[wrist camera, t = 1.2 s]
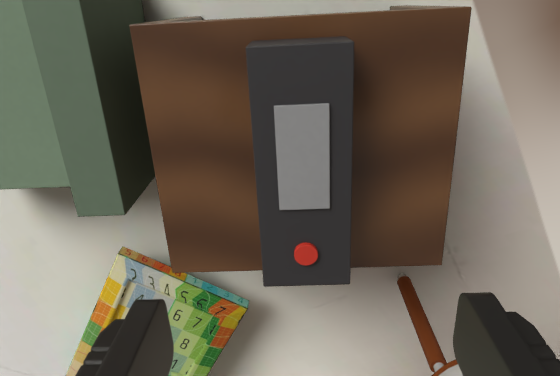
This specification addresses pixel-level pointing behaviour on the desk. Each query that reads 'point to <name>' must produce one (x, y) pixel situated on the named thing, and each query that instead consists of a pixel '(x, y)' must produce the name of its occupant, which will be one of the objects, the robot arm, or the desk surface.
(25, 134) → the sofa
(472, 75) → the desk surface
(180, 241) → the shelf
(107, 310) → the puzzle game
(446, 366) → the magnifying glass
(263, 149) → the remote
